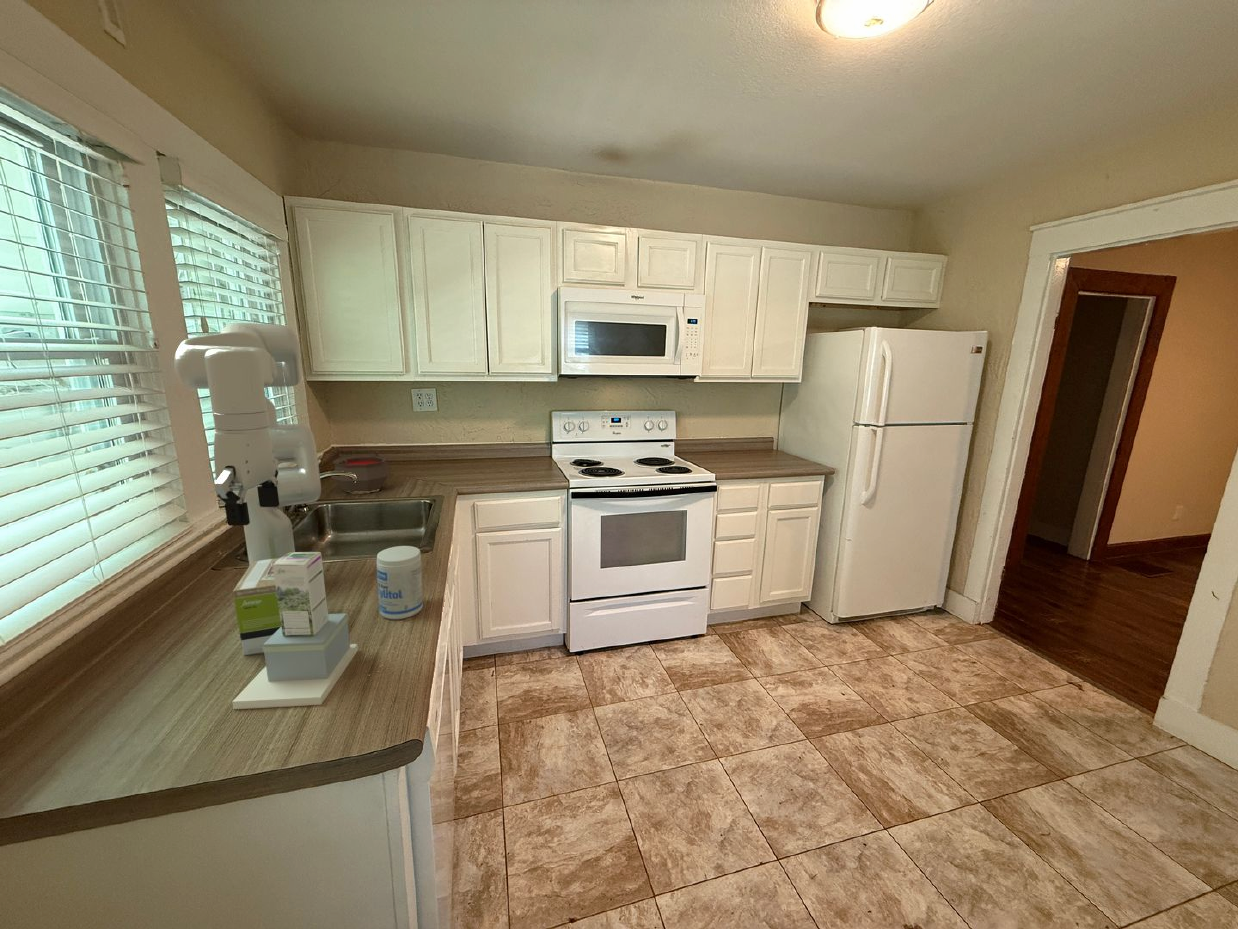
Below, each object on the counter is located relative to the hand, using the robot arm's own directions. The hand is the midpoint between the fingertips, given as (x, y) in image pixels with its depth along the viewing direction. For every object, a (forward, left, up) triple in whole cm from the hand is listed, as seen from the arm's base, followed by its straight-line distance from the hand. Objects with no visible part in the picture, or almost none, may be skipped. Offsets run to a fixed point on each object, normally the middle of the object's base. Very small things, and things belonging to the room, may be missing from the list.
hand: (255, 515), depth 88 cm
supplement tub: (-19, +18, -31) cm, 41 cm away
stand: (+4, +7, -31) cm, 32 cm away
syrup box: (+3, +8, -22) cm, 23 cm away
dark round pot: (-127, -30, -31) cm, 134 cm away
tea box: (-12, -5, -31) cm, 33 cm away
